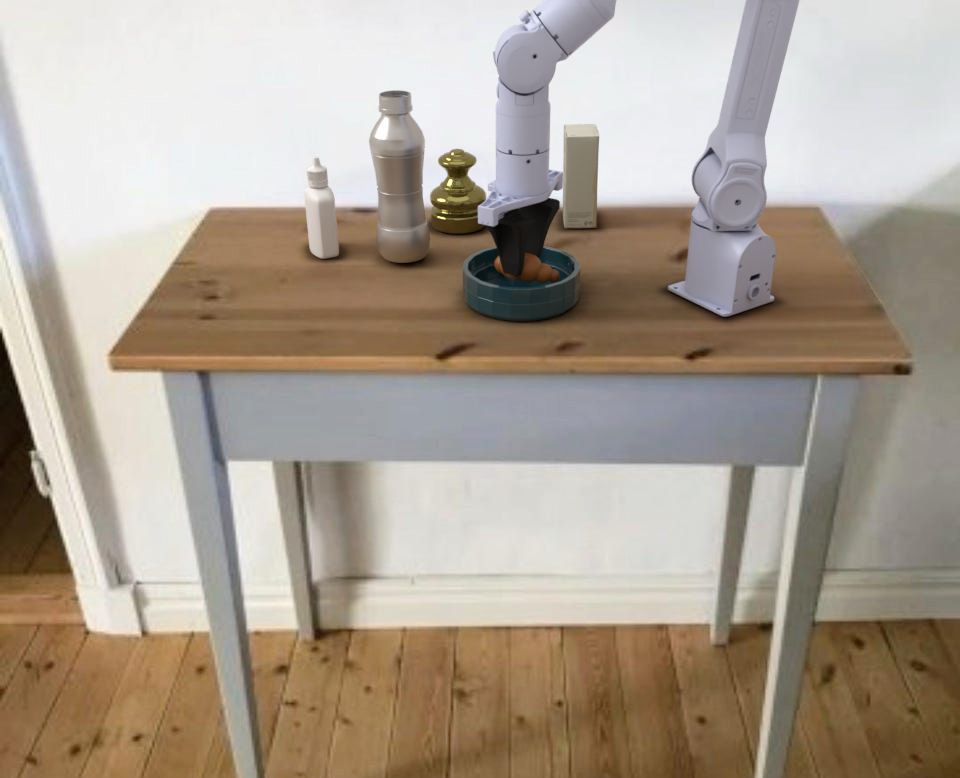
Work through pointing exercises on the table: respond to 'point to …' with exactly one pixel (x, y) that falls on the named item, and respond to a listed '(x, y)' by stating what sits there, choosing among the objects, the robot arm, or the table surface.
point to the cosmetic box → (580, 175)
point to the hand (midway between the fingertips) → (521, 267)
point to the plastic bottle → (399, 180)
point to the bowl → (520, 287)
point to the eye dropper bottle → (320, 213)
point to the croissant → (532, 270)
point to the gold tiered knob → (456, 196)
